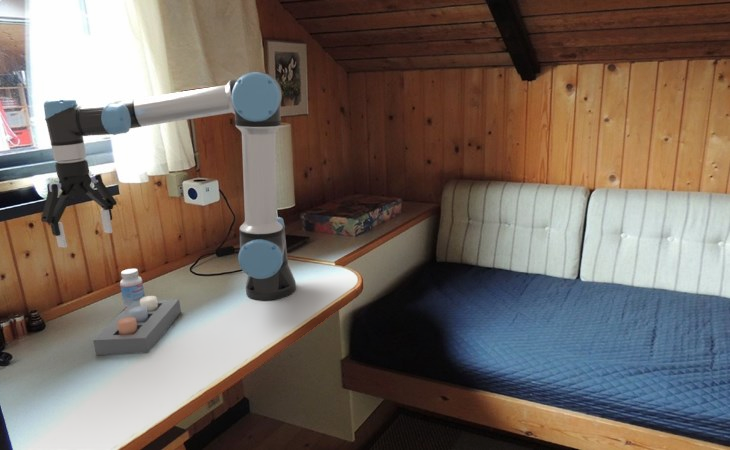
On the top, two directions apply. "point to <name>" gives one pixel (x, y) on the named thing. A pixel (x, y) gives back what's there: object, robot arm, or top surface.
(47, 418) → the top surface
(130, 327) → the terracotta button
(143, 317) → the blue-grey rounded block
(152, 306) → the cream button
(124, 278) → the pill bottle
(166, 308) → the tray
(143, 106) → the robot arm
